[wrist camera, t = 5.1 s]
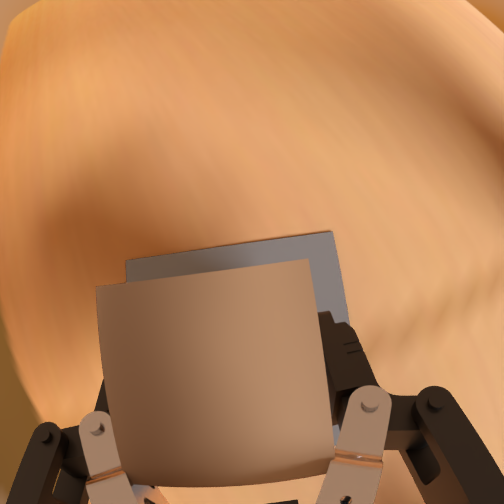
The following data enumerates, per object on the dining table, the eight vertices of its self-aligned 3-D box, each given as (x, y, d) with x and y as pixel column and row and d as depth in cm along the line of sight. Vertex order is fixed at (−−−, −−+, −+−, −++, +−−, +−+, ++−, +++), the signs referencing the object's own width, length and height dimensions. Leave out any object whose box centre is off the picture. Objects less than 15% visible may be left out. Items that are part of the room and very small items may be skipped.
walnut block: (281, 302, 17) (308, 258, 7) (294, 394, 15) (336, 471, 6) (188, 314, 17) (95, 286, 7) (200, 405, 15) (126, 483, 6)
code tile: (332, 232, 18) (332, 231, 17) (362, 438, 15) (363, 438, 14) (126, 260, 18) (125, 260, 17) (151, 460, 14) (151, 461, 14)
